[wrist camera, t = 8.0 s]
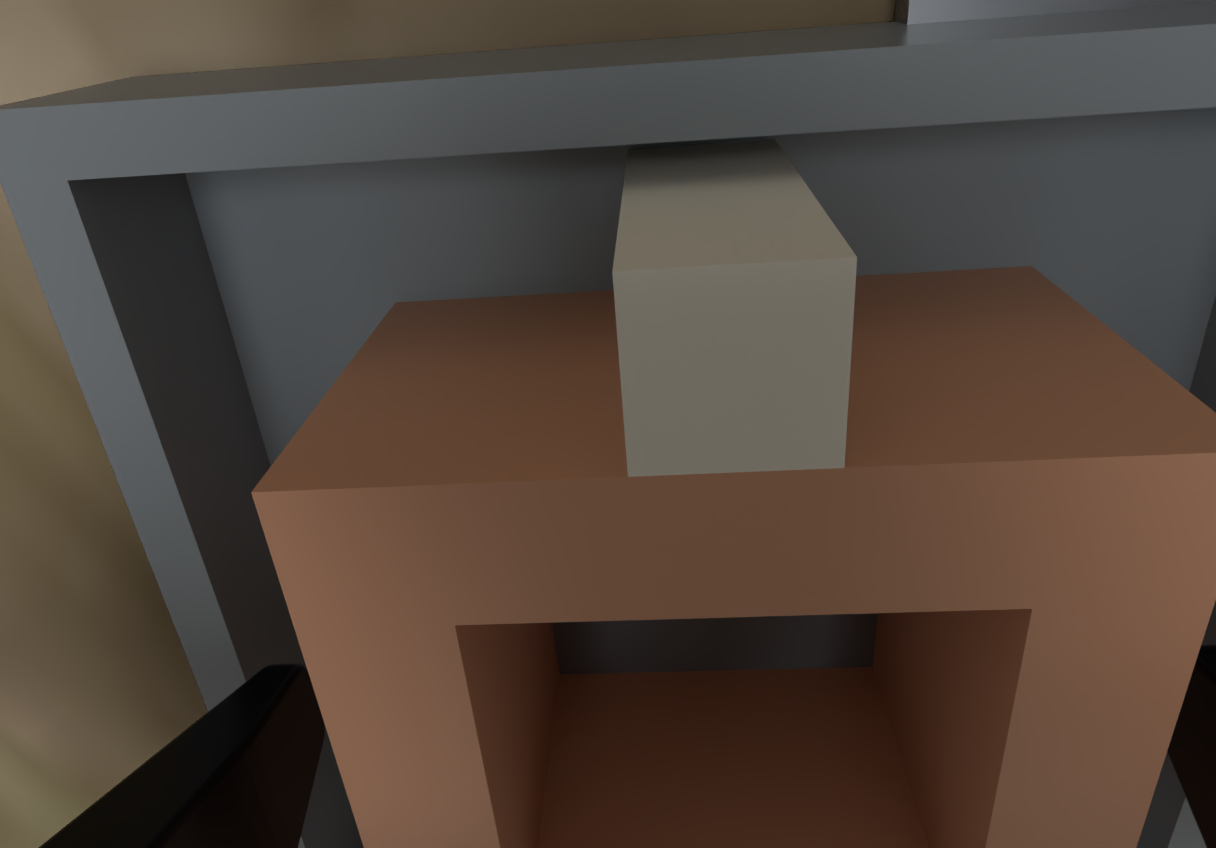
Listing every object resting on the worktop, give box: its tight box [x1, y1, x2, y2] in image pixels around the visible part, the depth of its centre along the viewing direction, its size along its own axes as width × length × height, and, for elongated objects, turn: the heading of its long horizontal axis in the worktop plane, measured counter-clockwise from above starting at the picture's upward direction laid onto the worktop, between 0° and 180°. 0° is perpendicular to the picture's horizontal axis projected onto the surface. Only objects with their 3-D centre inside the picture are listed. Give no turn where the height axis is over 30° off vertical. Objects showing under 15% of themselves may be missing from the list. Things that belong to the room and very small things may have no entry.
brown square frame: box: [251, 140, 1216, 848], centre depth 9 cm, size 8×7×4 cm
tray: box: [0, 2, 1216, 848], centre depth 11 cm, size 12×12×2 cm
